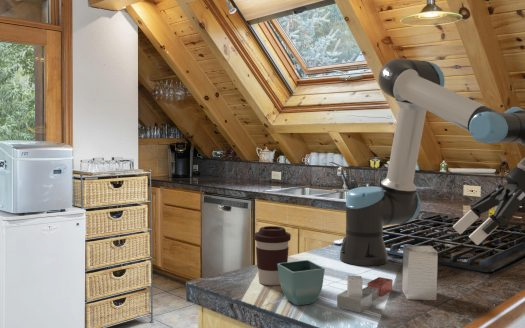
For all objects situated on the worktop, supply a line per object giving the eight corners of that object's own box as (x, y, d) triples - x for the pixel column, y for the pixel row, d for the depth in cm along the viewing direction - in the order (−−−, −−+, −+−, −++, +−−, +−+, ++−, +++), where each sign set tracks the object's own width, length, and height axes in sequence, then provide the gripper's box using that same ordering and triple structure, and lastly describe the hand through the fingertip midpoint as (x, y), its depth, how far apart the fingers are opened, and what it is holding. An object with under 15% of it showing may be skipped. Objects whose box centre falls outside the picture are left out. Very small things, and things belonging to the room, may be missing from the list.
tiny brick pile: (337, 307, 122) (337, 278, 122) (375, 286, 139) (375, 260, 138) (360, 312, 118) (360, 282, 118) (396, 290, 135) (396, 264, 135)
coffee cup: (248, 285, 139) (248, 230, 138) (261, 275, 148) (261, 223, 147) (283, 289, 136) (284, 232, 135) (294, 279, 145) (295, 226, 144)
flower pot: (292, 310, 120) (292, 272, 119) (276, 298, 128) (276, 263, 128) (325, 305, 124) (325, 268, 123) (307, 294, 132) (307, 259, 131)
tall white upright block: (407, 299, 128) (408, 251, 128) (402, 290, 135) (403, 245, 135) (436, 300, 128) (437, 252, 127) (429, 291, 135) (430, 245, 134)
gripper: (564, 192, 115) (492, 257, 117) (518, 182, 140) (460, 236, 142) (540, 168, 116) (469, 234, 118) (498, 163, 140) (440, 217, 142)
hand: (464, 235), depth 130 cm, fingers open, 13 cm apart
